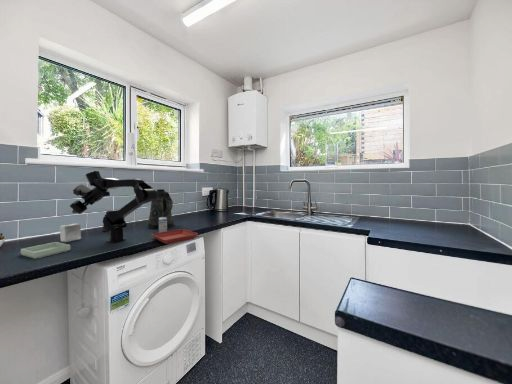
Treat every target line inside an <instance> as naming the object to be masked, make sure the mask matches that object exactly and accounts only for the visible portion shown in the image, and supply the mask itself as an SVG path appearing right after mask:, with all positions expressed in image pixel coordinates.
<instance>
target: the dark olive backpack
mask: <svg viewBox="0 0 512 384" xmlns="http://www.w3.org/2000/svg"><path fill="white" fill-rule="evenodd" d="M155 191H156V192H157V198H156V199H155V200H153V201H151V202H150V211H149V216H148V219H147V223H146V224H147V227H148V229H152V230H159V218H160V217H166V218H167V229H169V228H173V226H174V224H175V223H174V222H175V220H174V217H173V215H172V209H173V205H174V202H173V199H172V198H171V196H170V193H169V192H167V191H165V189H162V188H160V189H156V190H155Z"/></svg>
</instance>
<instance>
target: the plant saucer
mask: <svg viewBox="0 0 512 384" xmlns="http://www.w3.org/2000/svg"><path fill="white" fill-rule="evenodd" d="M198 234H199V233H198V232H195V231H191V230H188V229H185V228H179V229H171V230H167V231H166V232H160V233H159V232H155V233H151V236H152V237H153V238H154V239H155V240H156V239H157V241H159V242H161V243H163V244H165V245H170V244H176V243H179V242H180V243H181V242H185V241H189V240H194V239H195V238H196V236H198Z"/></svg>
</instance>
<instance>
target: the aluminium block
mask: <svg viewBox="0 0 512 384" xmlns="http://www.w3.org/2000/svg"><path fill="white" fill-rule="evenodd" d="M81 227H82V226H81V223H70V224H64V225H60V226H59V235H60V236H59V238H60V242H61V243H69V242H73V241H77V240H78V241H79V240H81V239H82V236H81V235H82V231H81V229H82V228H81Z"/></svg>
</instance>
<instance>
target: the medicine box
mask: <svg viewBox="0 0 512 384" xmlns="http://www.w3.org/2000/svg"><path fill="white" fill-rule="evenodd" d="M166 231H168V228H167V218H166V217H160V218H159V229H158V233H160V232H166Z"/></svg>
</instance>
